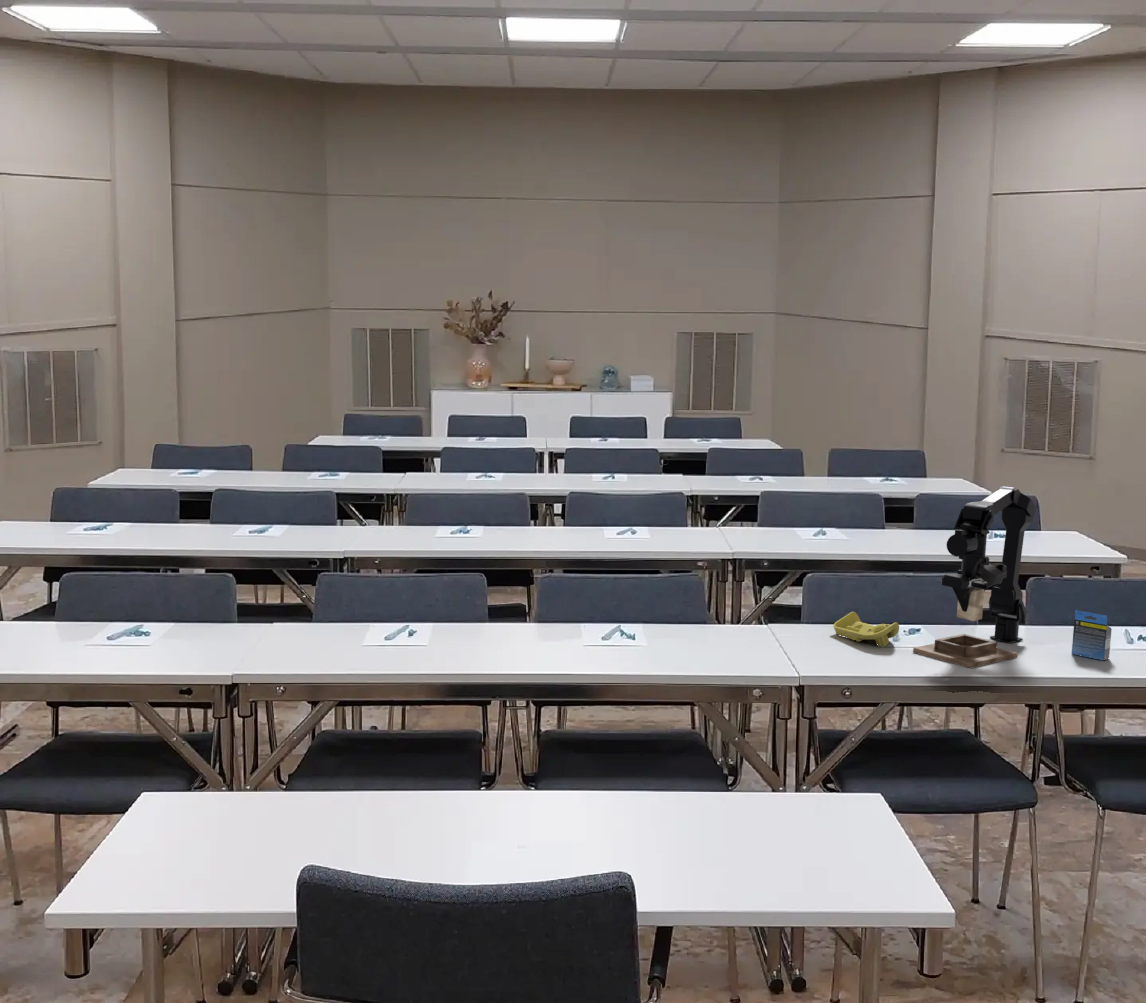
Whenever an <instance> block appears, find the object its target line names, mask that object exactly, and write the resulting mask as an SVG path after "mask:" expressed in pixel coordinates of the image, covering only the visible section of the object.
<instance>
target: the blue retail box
mask: <svg viewBox="0 0 1146 1003" xmlns="http://www.w3.org/2000/svg"><path fill="white" fill-rule="evenodd" d="M1090 616H1091V617H1092V618H1094V619H1092V618H1087V617H1090ZM1111 639H1112V628H1111V627H1110V626H1109V625H1108V615H1106V614H1105V615H1104V614H1100V613H1096V612H1095V613H1094V612H1090V611H1084V610H1079V609H1075V610H1074V619H1073V632H1072V644H1071V655H1072V654H1075V655H1074V656H1076V655H1081V656H1080V657H1082V656H1085V657H1084V658H1087V657H1089V658H1088V659H1092V658H1093V660H1097V659H1100V660H1099V661H1101V660H1105V659H1107V660H1109V659H1110V652H1111V651H1110V650H1111ZM1108 658H1109V659H1108ZM1105 661H1106V660H1105Z"/></svg>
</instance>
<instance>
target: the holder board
mask: <svg viewBox="0 0 1146 1003" xmlns="http://www.w3.org/2000/svg"><path fill="white" fill-rule="evenodd" d="M997 646H998V642H997V641H993V640H989V639H985V638H981V637H977V636H974V635H969V634H966V633H962V634H957V635H952V636H948V637H942V638H937V639H935V640H934V643H931V644H930V643H929V644H924V645H920V646H915V647H913V650H912V652H913V653H916V654H918V655H922V656H925V657H929V658H932V659H937V660H940V661H944V662H947V663H950V664H954V665H958V666H961V667H965V668H968V669H969V668H970V669H972V668H978V667H981V666H986V665H990V664H994V663H997V662H1002V661H1007V660H1011V659H1016V658H1018V652H1015V651H1011V650H1007V649H1004V648H999V647H997Z"/></svg>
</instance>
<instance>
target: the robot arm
mask: <svg viewBox="0 0 1146 1003" xmlns="http://www.w3.org/2000/svg"><path fill="white" fill-rule="evenodd" d="M1000 512H1001V516H1000V517H1001V521H1002V523H1003V526H1004V527H1005V536H1004V542H1003V543H1004V544H1003V551H1002V552H1003V553H1002V558H1001V559H1002V560H1001V563H999V564H997V565H996V564H991V563H990V558H989V556H987V555H986V550H987V539H988V538H987V537H988V535H989V534H990V530H989V529H990V527H991V524H993V522H995V519H994V518H995V515H997V514H998V513H1000ZM1035 513H1036V505H1035V503H1034V501H1033V499H1031V497H1028V496H1027V495H1025V494H1024V493H1022V492H1021V491H1020V490H1019V488H1016V487H1014V486H1013V487H1012V486H1005V485H1004V486H1003V485H1002V486H1000V487H998V489H997V490H996V491H994V492H992V493H991V494H990V495H988V496H986V497H985V498H984V499H983V500H980V501H972V502H967V503H965V504H964V505H963V507H962V508H961V510H960V512H959V514H958V517H957V520H956V521H955V524H954V527H953V530H954V534H952V535H951V536H949V538H948V539H947V541H946V550H947V551H948V553H949V554H950V555H951V556H954V557H957V558H958V559H959V560H961V569H958V570H957V573H954V572H953V573H947V574H944V575H943V576H941V583H940V585H941V586H945V587H948V588H952V590H953V592H954V595H955V597H956V598H957V602H958V601H959V604H960V606H961V608H962V611H964V612H966V611H967V608H968V603H969V597H970V593H971V592H972V591H973V590H974V589H975V588H974V587H976V588H981V589H984V593H985V592H986V590H988V589H989V588H990V587H992V588H991V590H990V596H989V599H988V607H989V608H988V609H989V617H994V618H995V627H994V634H993V635H991V636H989V639H992V640H996V641H1000V642H1004V643H1007V644H1011V643H1016V642H1020V641H1023V637H1019V629H1020V625H1019V624H1020V622H1025V621H1026V619H1027V617H1028V616H1027V614H1028V610H1027V608H1026V605H1025V603H1024V601H1023V598H1024V597H1023V596H1024V595H1023V592H1022V589H1021V587H1020V585H1019V576H1020V570H1021V561H1022V555H1023V554H1022V553H1023V545H1024V538H1025V531H1026V530H1027V529H1028V528H1029V527H1030V525H1031V524H1032V522H1033V518H1034V516H1035ZM971 586H972V587H971Z"/></svg>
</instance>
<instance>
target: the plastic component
mask: <svg viewBox="0 0 1146 1003" xmlns="http://www.w3.org/2000/svg"><path fill="white" fill-rule="evenodd" d="M832 627H833V629H834V632H835V634H836V635H837V634H838V635H841V636H845V637H847V638H850V639H852V641H854V640H856V641H855V642H859V643H861V642H862V641H863V640H874V641H875V643H876V645H877V644H878V645H879V646H878V647H880V646H882V647H886V646H887V645H888V644H889V643H890V640H889V639H891V638H894V637H895V636H897V635H898V633H899V630H900V624H899V623H898V622H893V623H892V624H890V623H879V624H877V625H873V624H869V623H866V622H863V621H862V620H861V619H860V617H859V615H858V614H857V612H855V611H851V612H849V613H847V614H846V615H844V616H843V617H841V618H840V619H839V620H837V621H835V622H834V624H833V625H832ZM838 635H837V636H838ZM847 638H846V639H847ZM850 639H849V640H850Z"/></svg>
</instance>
